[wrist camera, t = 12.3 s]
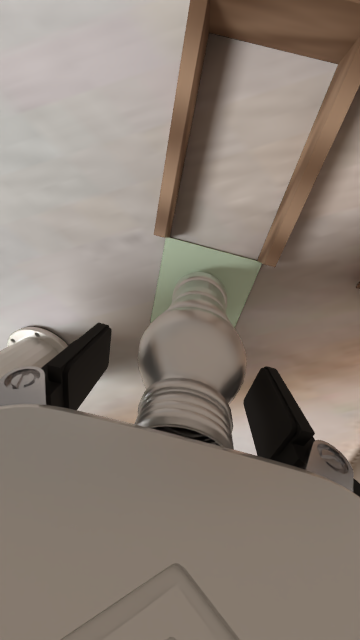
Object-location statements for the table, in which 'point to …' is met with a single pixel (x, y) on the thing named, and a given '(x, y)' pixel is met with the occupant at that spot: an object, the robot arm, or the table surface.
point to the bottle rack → (283, 34)
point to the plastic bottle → (192, 364)
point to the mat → (195, 258)
